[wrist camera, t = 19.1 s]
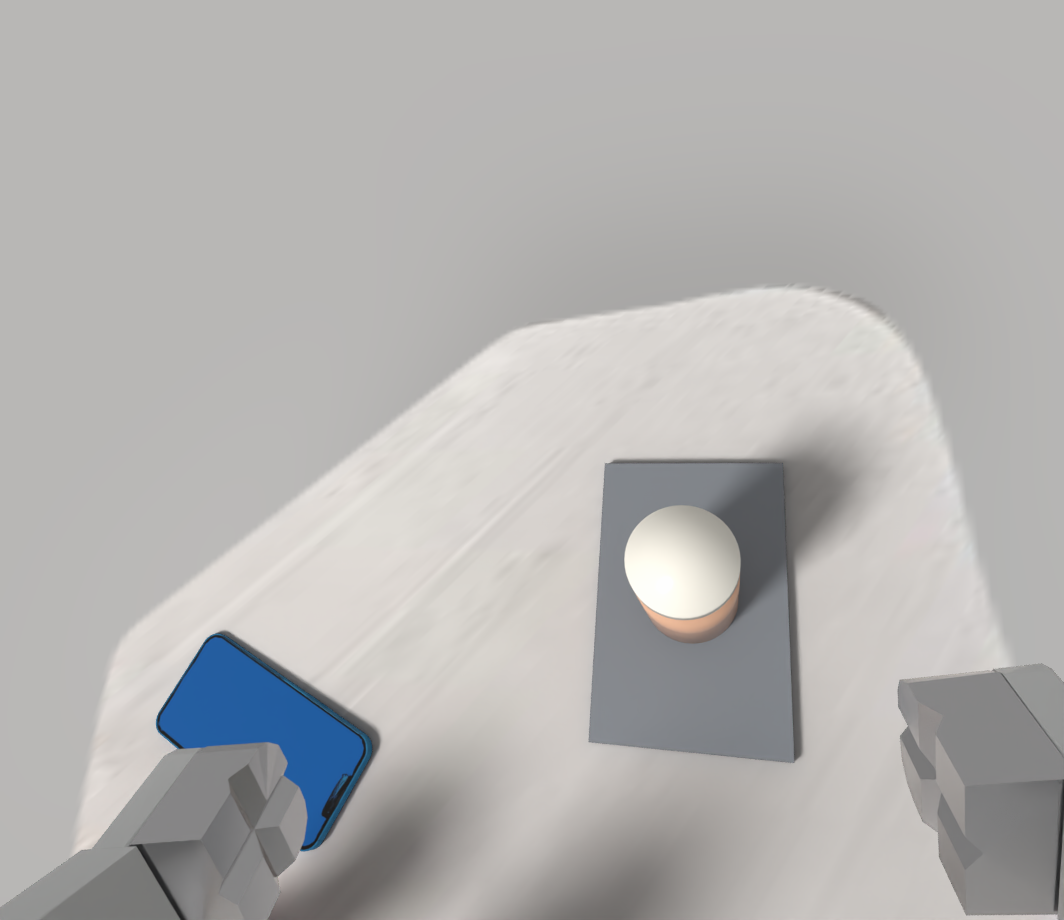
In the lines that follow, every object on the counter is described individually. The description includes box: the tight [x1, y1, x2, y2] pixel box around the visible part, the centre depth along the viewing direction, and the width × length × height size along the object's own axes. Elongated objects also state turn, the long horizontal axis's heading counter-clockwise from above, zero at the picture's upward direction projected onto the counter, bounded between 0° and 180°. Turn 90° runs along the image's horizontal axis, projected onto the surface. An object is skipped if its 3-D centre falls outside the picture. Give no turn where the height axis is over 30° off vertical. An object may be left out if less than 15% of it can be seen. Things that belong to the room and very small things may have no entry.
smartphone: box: [156, 634, 372, 851], centre depth 45 cm, size 7×1×15 cm
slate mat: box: [589, 463, 794, 763], centre depth 42 cm, size 17×11×1 cm, turn 175°
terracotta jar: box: [624, 505, 741, 644], centre depth 38 cm, size 6×6×8 cm
